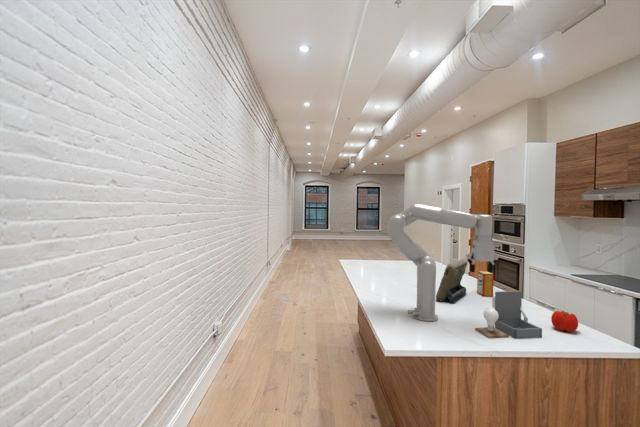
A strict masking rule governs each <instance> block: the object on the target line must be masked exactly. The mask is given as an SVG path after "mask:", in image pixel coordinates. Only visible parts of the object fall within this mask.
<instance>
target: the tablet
mask: <svg viewBox="0 0 640 427" xmlns="http://www.w3.org/2000/svg"><path fill="white" fill-rule="evenodd" d="M467 265H468V261H467V259H466V258H461V259H459V260H456V261H454V262H451V263H449V264H447V265H446V267H445V269H444V273H443V276H442V277H441V279H440V280H441V281H440V282H439V287H438V290H437V292H436V294H435V301H437V302H439V303H441V302H442V303H443V302H444V301H445V300H446V298H448V300H449V303H450V304H453V305H454V304H456V303H457V302H458V301H460V300H461V299H462V298H464V297H465V296H467V288H466V287H465V286H463V285H462V284H461V282H462V280H463V276H464V275H465V273H466V269H467Z"/></svg>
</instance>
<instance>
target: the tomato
mask: <svg viewBox="0 0 640 427" xmlns="http://www.w3.org/2000/svg"><path fill="white" fill-rule="evenodd" d="M550 319H551V324H552V326H553V327H554V328H555V329H556V330H558V331H562V332H563V331H565V332H567V333H569V332H570V333H571V332H574V331H577V329H578V328H579V320H578V317H577V316H576V314H574V313H569V312H568V311H564V310H561V311H559V310H555V311H554V312H553V313H552V315H551V317H550Z"/></svg>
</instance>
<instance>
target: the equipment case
mask: <svg viewBox="0 0 640 427" xmlns="http://www.w3.org/2000/svg"><path fill="white" fill-rule="evenodd" d="M522 294H523V292H522V291H521V290H506V291H503V290H502V291H495V292H494V296H495V308H494V309H495V310H496V311H497V312H498V314H499V318H498V320H497V321H496V322H495V325H494V328H496V329H498V330H500V331H502V332H504V333H505V334H507V335H509V336H510V338H514V339H533V338H542V337H543V328H542V327H540V326H537V325H535V324H532V323H530V322H529V318H528V317H527V315H526V314H525V312H524V310H523V309H522V308H523V307H522V304H523V303H522V302H523V301H522V298H523V296H522ZM522 315H523V319H522Z"/></svg>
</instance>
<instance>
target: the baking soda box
mask: <svg viewBox="0 0 640 427" xmlns="http://www.w3.org/2000/svg"><path fill="white" fill-rule="evenodd" d="M494 276H495V275H494V273H490V272H488V270H487V271H484V270H482V271H481V270H478V271H477V280H476V281H477V283H476V284H477V285H476V286H477V287H476V288H477V289H476V293H477V295H479V296H481V297H483V298H492V296H494Z"/></svg>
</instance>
